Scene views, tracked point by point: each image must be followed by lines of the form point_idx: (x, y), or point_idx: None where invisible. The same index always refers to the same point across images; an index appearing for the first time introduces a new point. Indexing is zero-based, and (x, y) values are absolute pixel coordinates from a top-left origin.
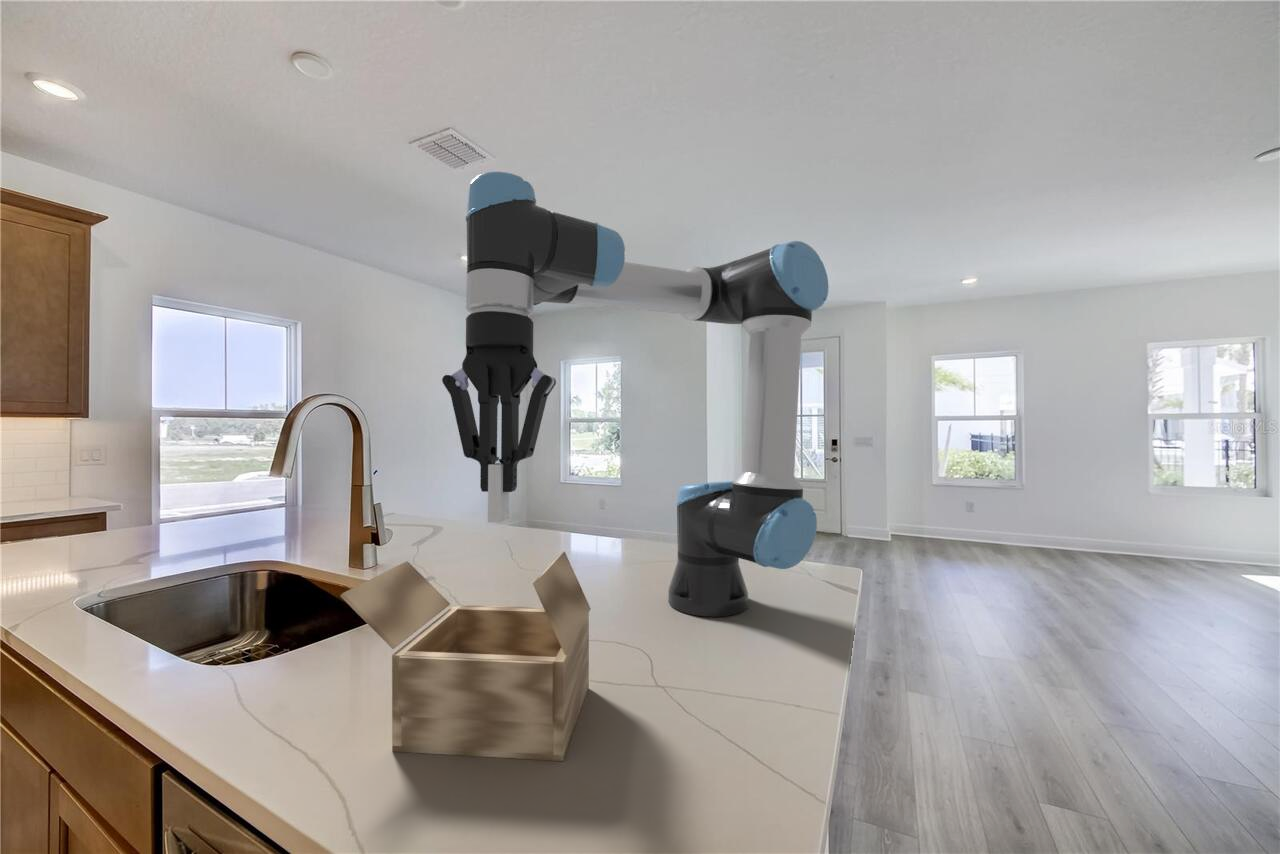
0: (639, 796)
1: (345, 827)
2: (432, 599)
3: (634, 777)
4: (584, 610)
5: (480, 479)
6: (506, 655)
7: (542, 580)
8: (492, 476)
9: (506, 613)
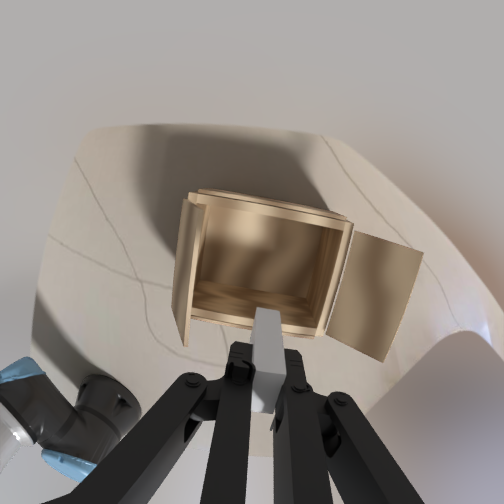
0: (159, 157)
1: (333, 148)
2: (343, 325)
3: (160, 173)
4: (173, 290)
5: (303, 365)
6: (244, 210)
7: (194, 230)
8: (274, 355)
9: None
